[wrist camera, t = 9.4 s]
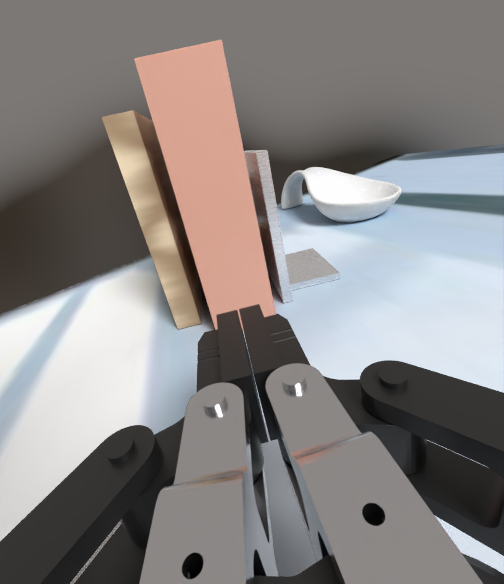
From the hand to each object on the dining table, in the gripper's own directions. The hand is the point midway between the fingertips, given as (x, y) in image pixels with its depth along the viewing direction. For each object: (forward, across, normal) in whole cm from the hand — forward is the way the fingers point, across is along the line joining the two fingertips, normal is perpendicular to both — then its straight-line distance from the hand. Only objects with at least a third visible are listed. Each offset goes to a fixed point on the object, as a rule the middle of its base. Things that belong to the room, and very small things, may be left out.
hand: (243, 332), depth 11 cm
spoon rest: (+41, -18, +7) cm, 45 cm away
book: (+19, 0, +7) cm, 20 cm away
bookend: (+20, -7, +7) cm, 22 cm away
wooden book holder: (+21, 0, +7) cm, 22 cm away
